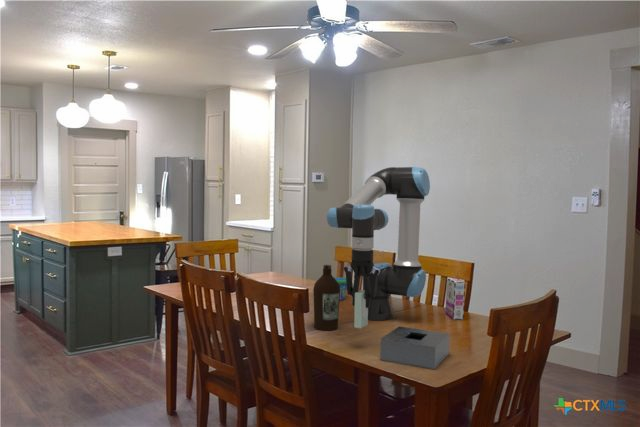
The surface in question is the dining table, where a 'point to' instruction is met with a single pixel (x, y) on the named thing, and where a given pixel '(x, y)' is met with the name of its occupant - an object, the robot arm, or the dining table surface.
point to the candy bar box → (455, 298)
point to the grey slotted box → (415, 347)
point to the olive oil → (326, 301)
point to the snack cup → (342, 286)
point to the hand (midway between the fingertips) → (361, 315)
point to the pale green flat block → (359, 310)
